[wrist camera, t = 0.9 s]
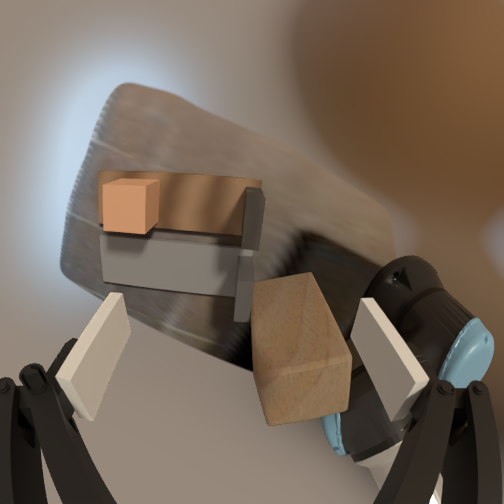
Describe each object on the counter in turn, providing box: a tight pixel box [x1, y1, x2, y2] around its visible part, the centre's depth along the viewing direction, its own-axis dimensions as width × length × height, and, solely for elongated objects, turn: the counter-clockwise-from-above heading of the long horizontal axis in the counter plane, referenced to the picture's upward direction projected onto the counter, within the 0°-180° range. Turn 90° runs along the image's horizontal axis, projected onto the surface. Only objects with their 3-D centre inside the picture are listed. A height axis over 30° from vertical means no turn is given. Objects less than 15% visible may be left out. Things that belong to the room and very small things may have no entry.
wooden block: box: [250, 272, 352, 426], centre depth 36 cm, size 10×10×20 cm
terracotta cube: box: [103, 178, 160, 234], centre depth 35 cm, size 6×6×6 cm
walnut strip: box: [98, 171, 265, 251], centre depth 35 cm, size 24×8×9 cm, turn 83°
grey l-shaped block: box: [100, 234, 254, 322], centre depth 38 cm, size 24×8×9 cm, turn 83°
